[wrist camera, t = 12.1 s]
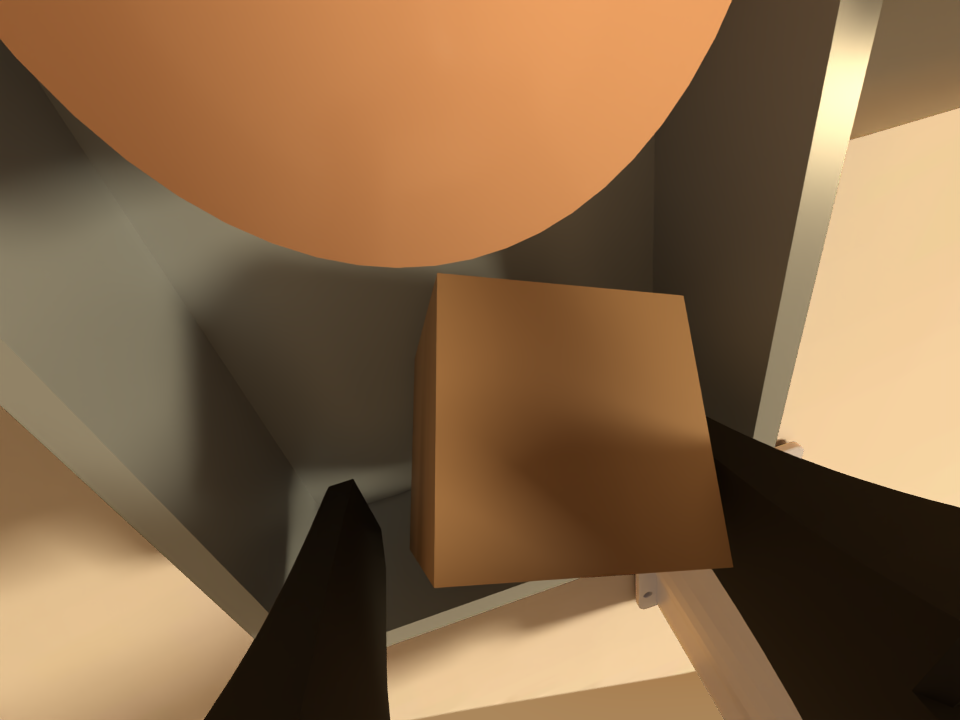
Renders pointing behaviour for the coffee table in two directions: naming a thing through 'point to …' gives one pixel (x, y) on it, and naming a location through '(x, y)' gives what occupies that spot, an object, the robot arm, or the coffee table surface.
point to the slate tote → (388, 310)
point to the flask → (910, 65)
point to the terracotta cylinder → (371, 108)
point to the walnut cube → (559, 436)
